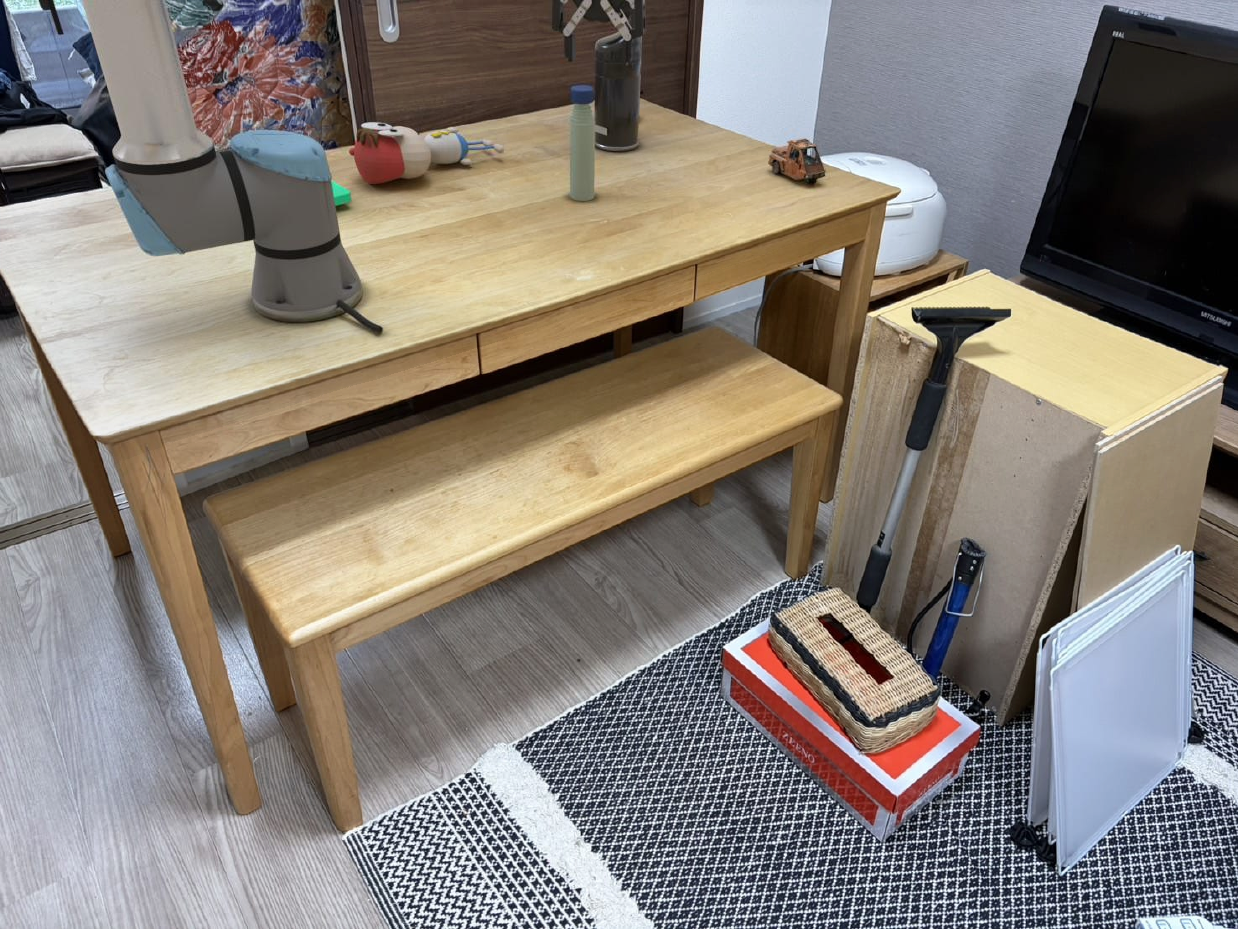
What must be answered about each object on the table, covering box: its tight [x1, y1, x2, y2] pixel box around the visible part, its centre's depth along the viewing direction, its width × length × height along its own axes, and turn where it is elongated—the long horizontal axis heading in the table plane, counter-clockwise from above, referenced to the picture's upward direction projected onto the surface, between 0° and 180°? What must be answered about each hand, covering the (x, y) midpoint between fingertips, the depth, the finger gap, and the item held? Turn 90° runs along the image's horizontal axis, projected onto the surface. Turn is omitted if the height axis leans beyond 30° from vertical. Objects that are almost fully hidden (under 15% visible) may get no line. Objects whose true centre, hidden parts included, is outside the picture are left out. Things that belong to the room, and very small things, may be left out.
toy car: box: [767, 138, 827, 186], centre depth 178 cm, size 6×12×7 cm, turn 39°
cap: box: [570, 84, 595, 105], centre depth 159 cm, size 4×4×2 cm
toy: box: [348, 121, 505, 185], centre depth 177 cm, size 18×10×30 cm
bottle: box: [569, 103, 596, 202], centre depth 164 cm, size 4×4×19 cm
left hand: (108, 29), depth 146 cm, fingers open, 13 cm apart
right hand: (598, 63), depth 145 cm, fingers open, 8 cm apart
